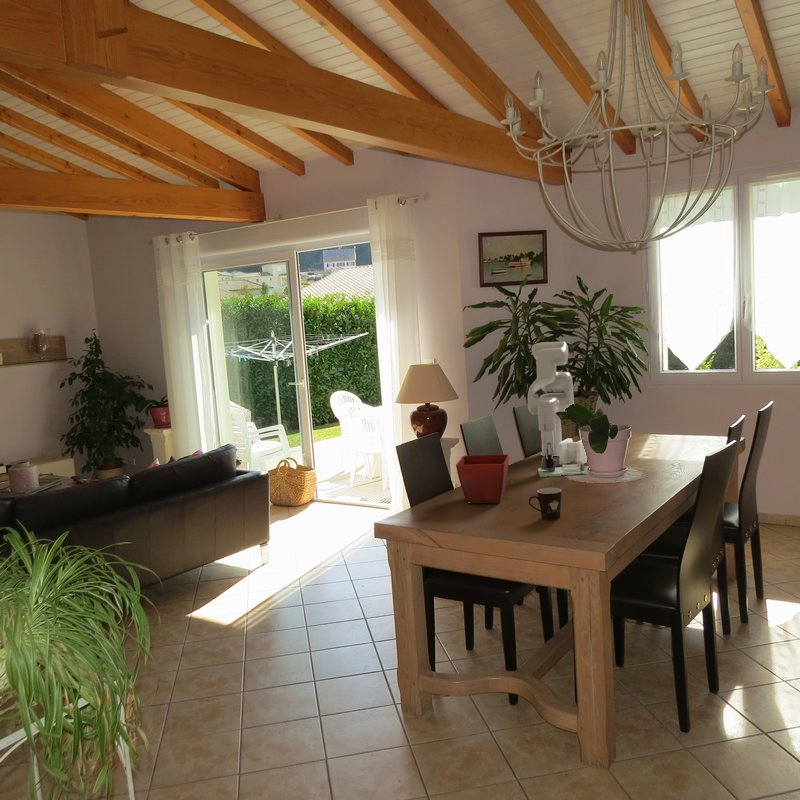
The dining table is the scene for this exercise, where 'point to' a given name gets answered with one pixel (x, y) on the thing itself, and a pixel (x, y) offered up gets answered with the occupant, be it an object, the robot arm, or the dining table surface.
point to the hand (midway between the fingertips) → (549, 466)
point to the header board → (563, 470)
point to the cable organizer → (571, 452)
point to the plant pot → (483, 477)
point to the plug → (543, 464)
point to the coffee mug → (549, 503)
